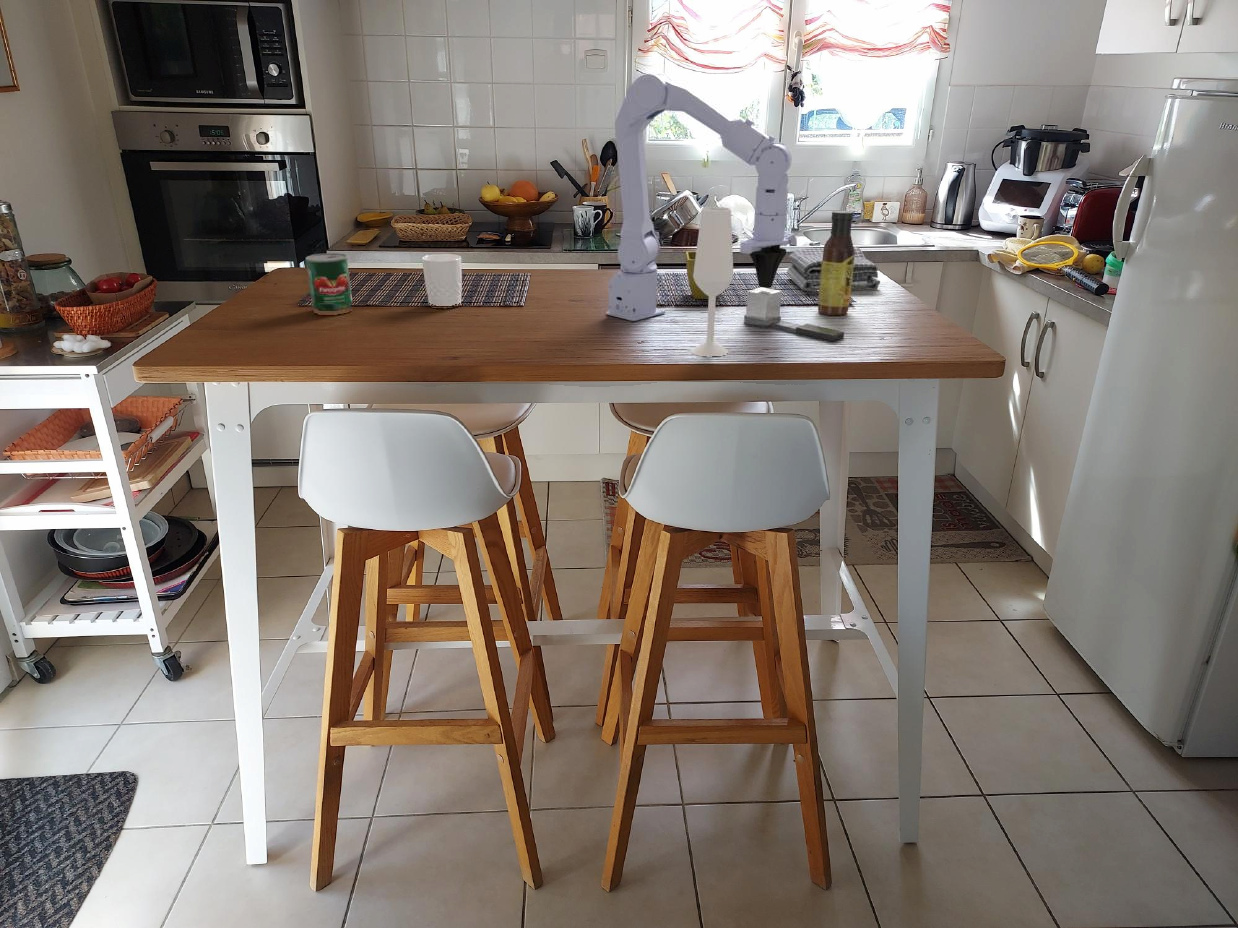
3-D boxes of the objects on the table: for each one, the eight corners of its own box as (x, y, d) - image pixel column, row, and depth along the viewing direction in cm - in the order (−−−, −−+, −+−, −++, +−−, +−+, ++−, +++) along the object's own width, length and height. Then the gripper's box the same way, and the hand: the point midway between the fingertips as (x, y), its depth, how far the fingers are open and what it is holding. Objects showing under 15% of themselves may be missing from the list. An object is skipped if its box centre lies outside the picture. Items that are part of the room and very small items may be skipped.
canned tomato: (328, 318, 168) (320, 262, 163) (305, 312, 172) (296, 257, 168) (361, 310, 173) (355, 256, 169) (338, 304, 178) (331, 251, 173)
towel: (783, 279, 202) (786, 246, 199) (858, 278, 204) (862, 245, 201) (801, 294, 189) (805, 258, 185) (881, 292, 190) (886, 257, 187)
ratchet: (848, 337, 156) (850, 316, 154) (827, 345, 151) (829, 323, 150) (758, 317, 169) (759, 298, 168) (736, 323, 165) (737, 303, 163)
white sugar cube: (765, 321, 161) (767, 295, 159) (745, 316, 164) (747, 291, 162) (779, 316, 164) (781, 291, 162) (760, 312, 167) (762, 287, 165)
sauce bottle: (849, 317, 169) (860, 214, 161) (817, 315, 170) (827, 213, 162) (847, 309, 175) (859, 210, 166) (816, 308, 176) (826, 209, 168)
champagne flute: (725, 346, 150) (733, 206, 141) (731, 357, 144) (740, 211, 134) (688, 346, 150) (693, 206, 140) (692, 357, 144) (698, 212, 134)
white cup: (468, 301, 180) (465, 254, 176) (459, 310, 173) (455, 261, 169) (432, 300, 181) (428, 253, 177) (421, 309, 174) (416, 260, 170)
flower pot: (727, 302, 181) (729, 259, 177) (686, 301, 181) (687, 259, 177) (723, 292, 189) (725, 251, 185) (684, 292, 189) (685, 251, 185)
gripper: (764, 220, 149) (759, 296, 154) (811, 211, 158) (804, 284, 164) (732, 215, 153) (728, 290, 159) (779, 208, 163) (774, 278, 168)
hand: (765, 287), depth 162 cm, fingers closed
